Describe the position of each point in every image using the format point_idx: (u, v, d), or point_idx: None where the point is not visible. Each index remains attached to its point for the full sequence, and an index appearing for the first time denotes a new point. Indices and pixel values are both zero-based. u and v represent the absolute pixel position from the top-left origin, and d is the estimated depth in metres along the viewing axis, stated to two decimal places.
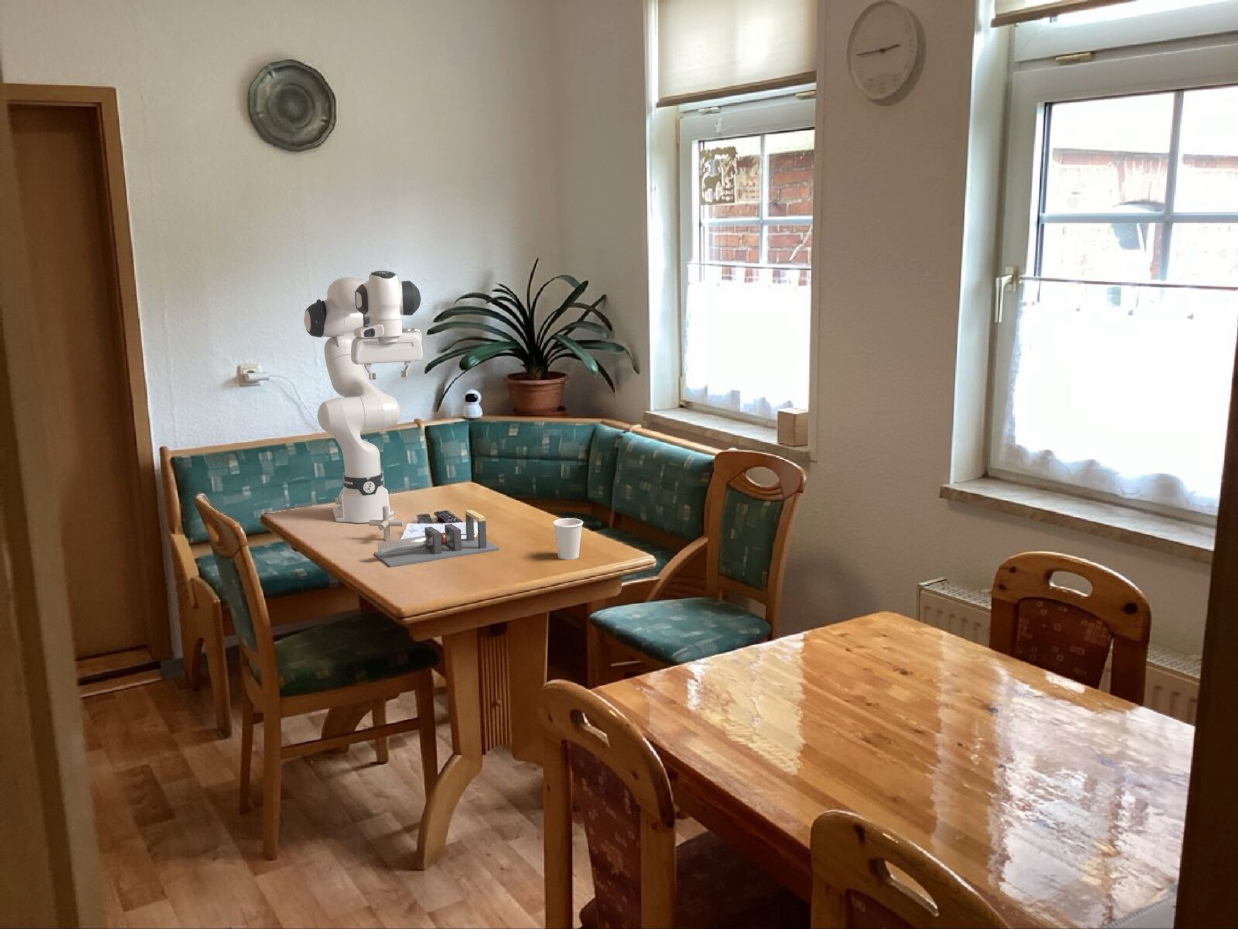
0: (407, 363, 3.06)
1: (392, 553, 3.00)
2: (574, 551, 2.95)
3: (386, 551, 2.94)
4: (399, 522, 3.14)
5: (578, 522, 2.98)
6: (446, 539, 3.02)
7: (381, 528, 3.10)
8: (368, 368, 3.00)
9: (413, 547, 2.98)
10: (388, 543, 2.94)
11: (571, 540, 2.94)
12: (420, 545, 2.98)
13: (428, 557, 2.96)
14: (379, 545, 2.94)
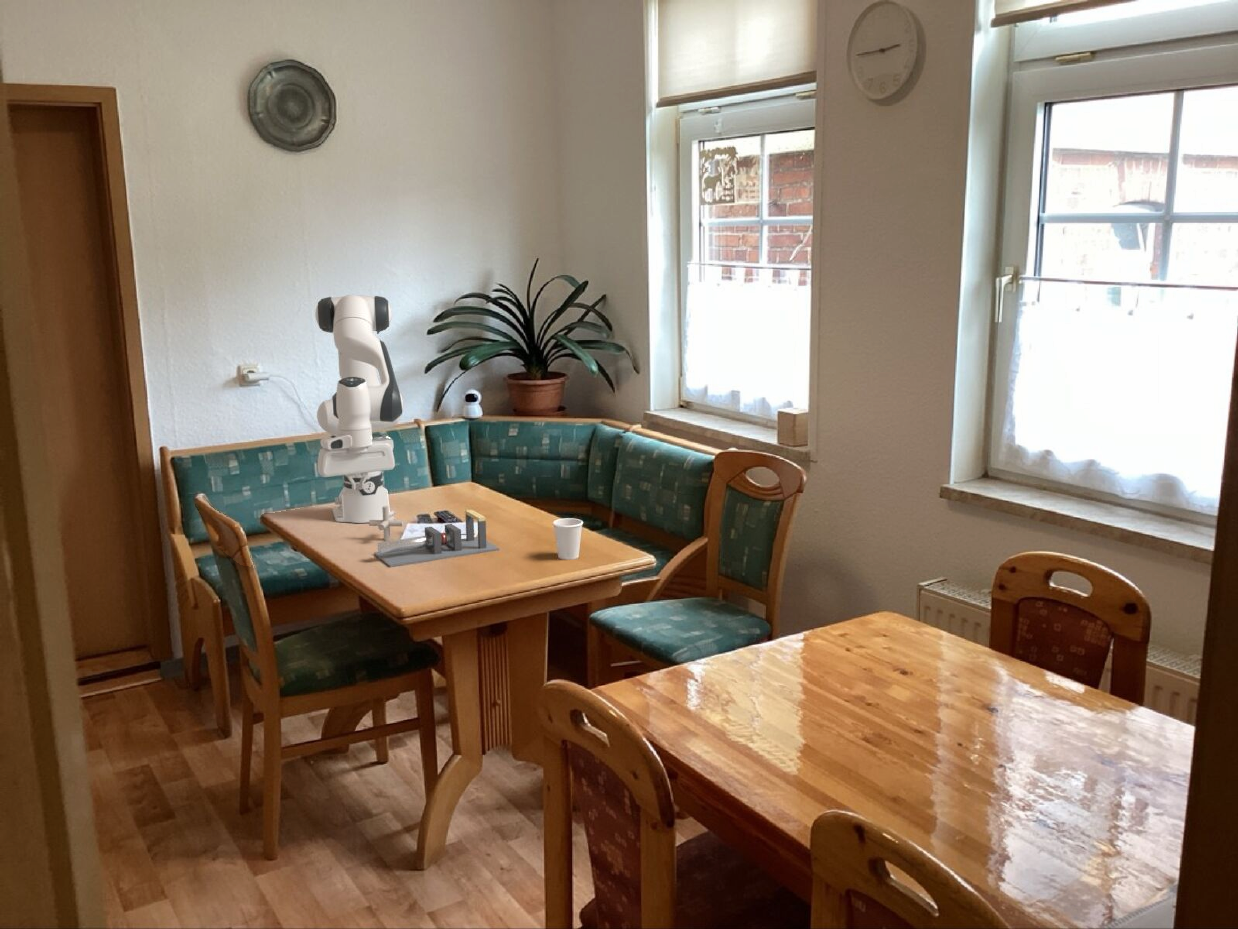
0: (363, 474, 2.87)
1: (392, 553, 3.00)
2: (574, 551, 2.95)
3: (386, 551, 2.94)
4: (399, 522, 3.14)
5: (578, 522, 2.98)
6: (446, 539, 3.02)
7: (381, 528, 3.10)
8: (351, 478, 2.85)
9: (413, 547, 2.98)
10: (388, 543, 2.94)
11: (571, 540, 2.94)
12: (420, 545, 2.98)
13: (428, 557, 2.96)
14: (379, 545, 2.94)
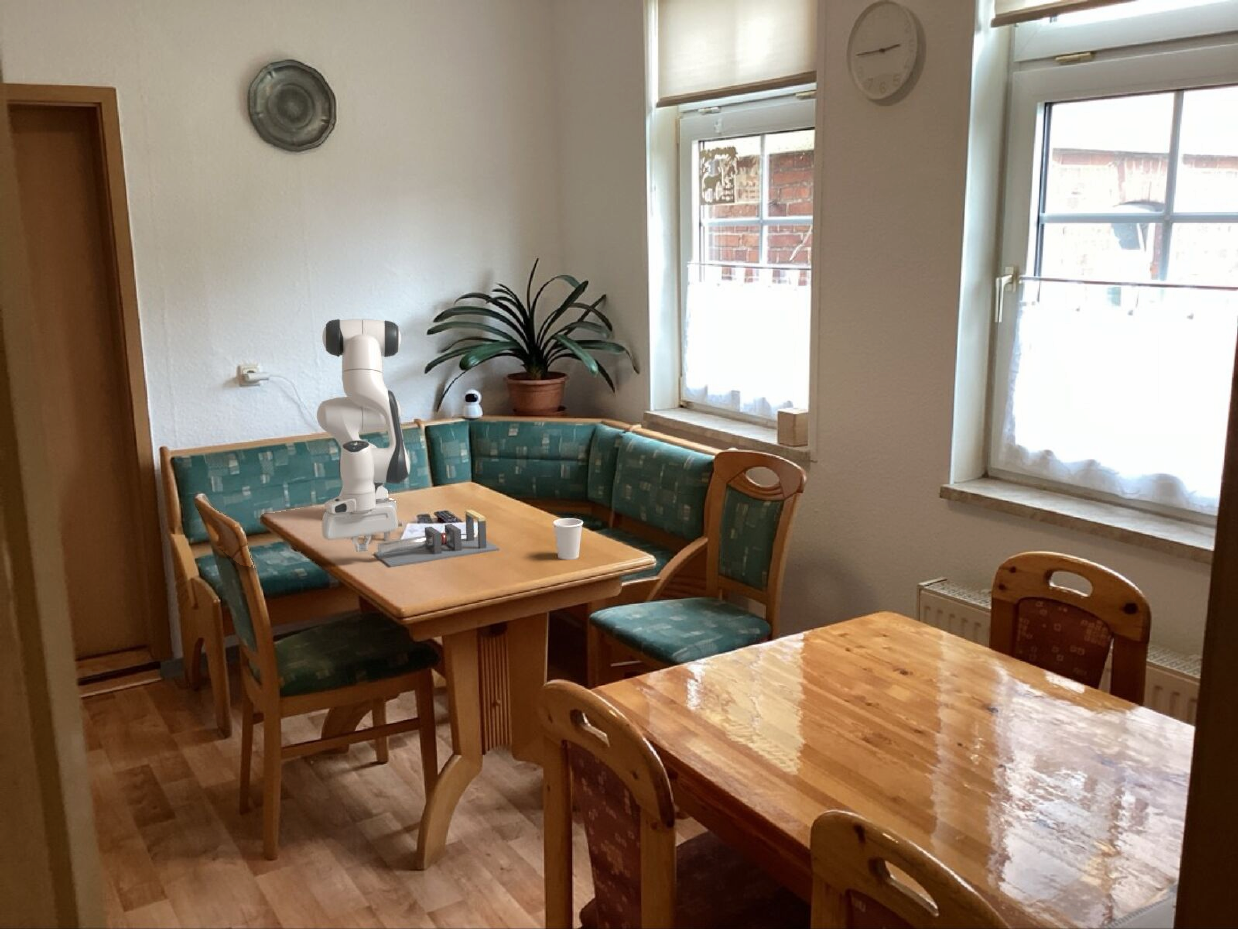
0: (367, 536, 2.91)
1: (392, 553, 3.00)
2: (574, 551, 2.95)
3: (386, 551, 2.94)
4: (399, 522, 3.14)
5: (578, 522, 2.98)
6: (446, 539, 3.02)
7: None
8: (355, 541, 2.89)
9: (413, 547, 2.98)
10: (388, 543, 2.94)
11: (571, 540, 2.94)
12: (420, 545, 2.98)
13: (428, 557, 2.96)
14: (379, 545, 2.94)
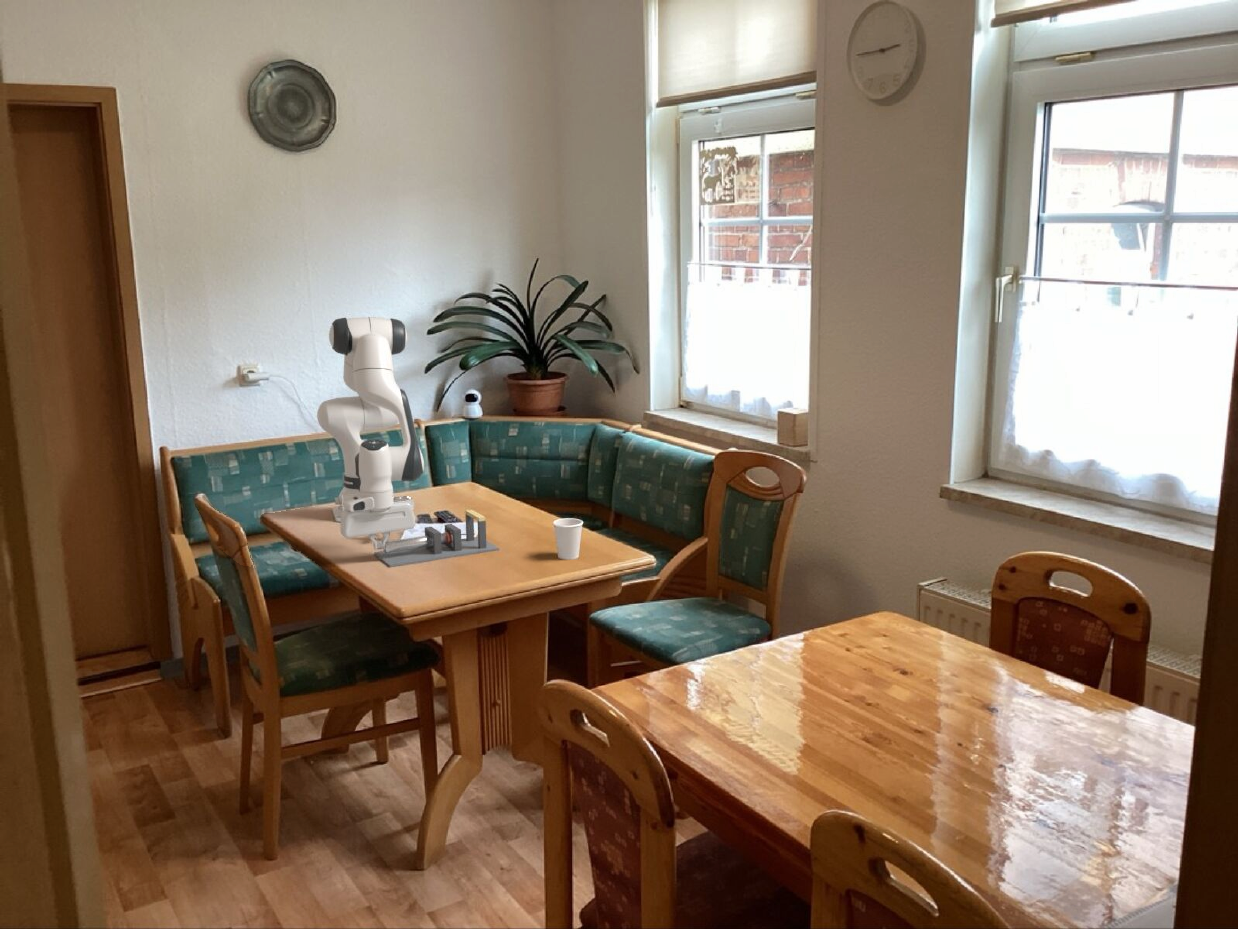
0: (384, 534, 2.93)
1: (392, 553, 3.00)
2: (574, 551, 2.95)
3: (391, 550, 2.94)
4: None
5: (578, 522, 2.98)
6: (451, 538, 3.03)
7: None
8: (373, 538, 2.92)
9: (418, 546, 2.98)
10: (393, 542, 2.95)
11: (571, 540, 2.94)
12: (426, 544, 2.99)
13: (428, 557, 2.96)
14: None
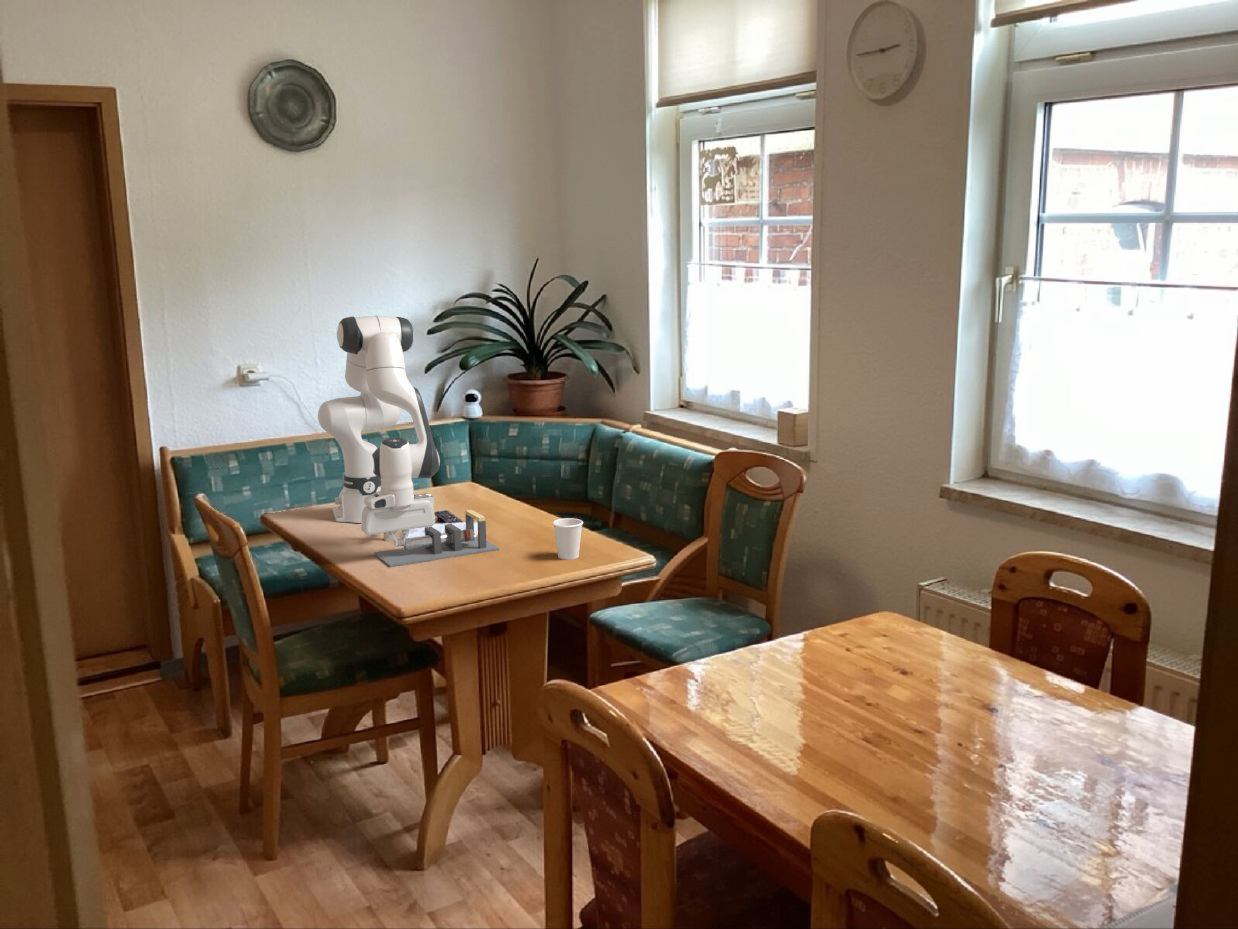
0: (405, 531, 2.96)
1: (392, 553, 3.00)
2: (574, 551, 2.95)
3: (411, 547, 2.97)
4: None
5: (578, 522, 2.98)
6: (470, 535, 3.05)
7: None
8: (393, 535, 2.94)
9: None
10: (413, 539, 2.98)
11: (571, 540, 2.94)
12: (445, 542, 3.02)
13: (428, 557, 2.96)
14: None
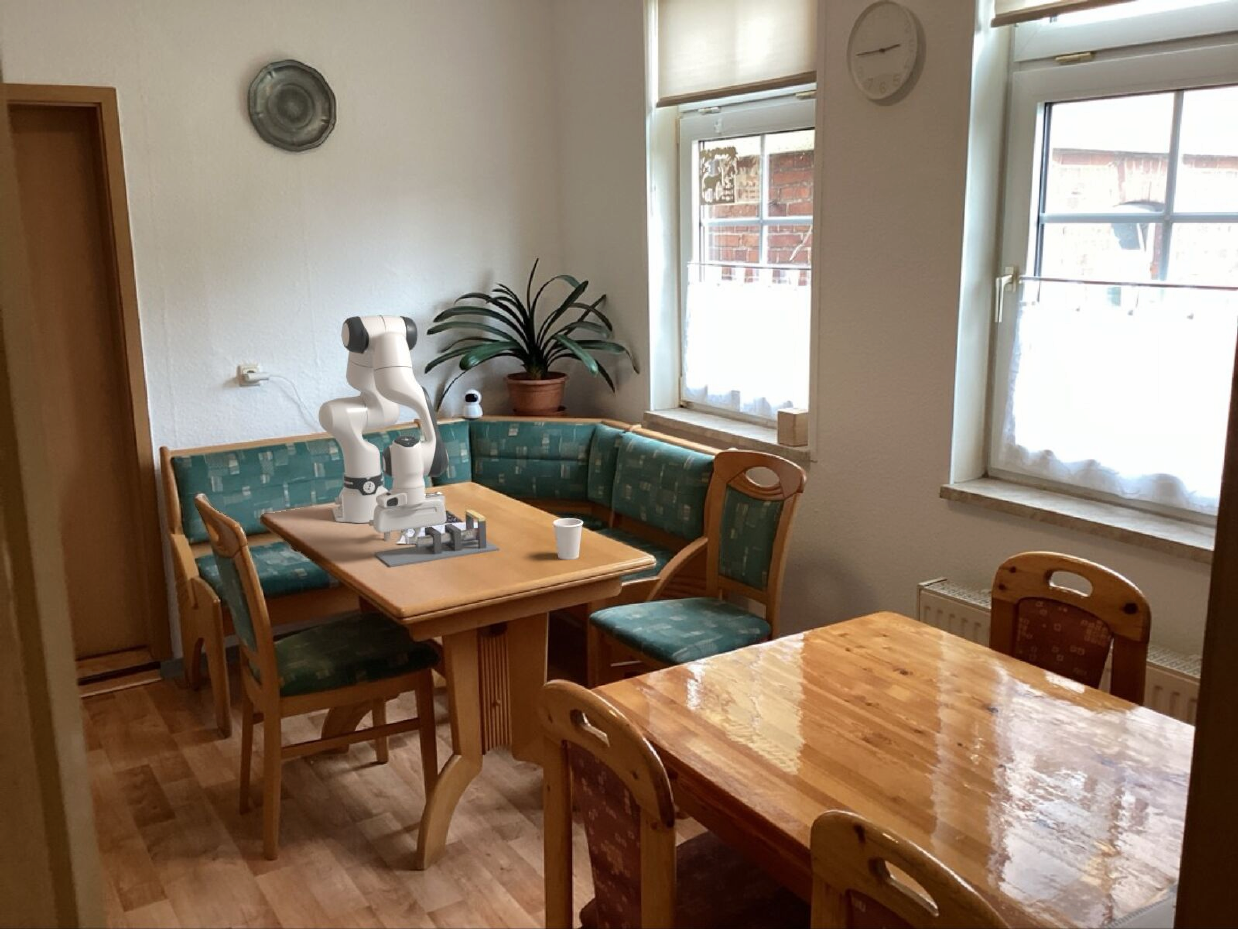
0: (416, 530, 2.98)
1: (392, 553, 3.00)
2: (574, 551, 2.95)
3: (423, 545, 2.99)
4: None
5: (578, 522, 2.98)
6: None
7: None
8: (405, 534, 2.96)
9: (449, 542, 3.03)
10: (425, 538, 2.99)
11: (571, 540, 2.94)
12: None
13: (428, 557, 2.96)
14: None
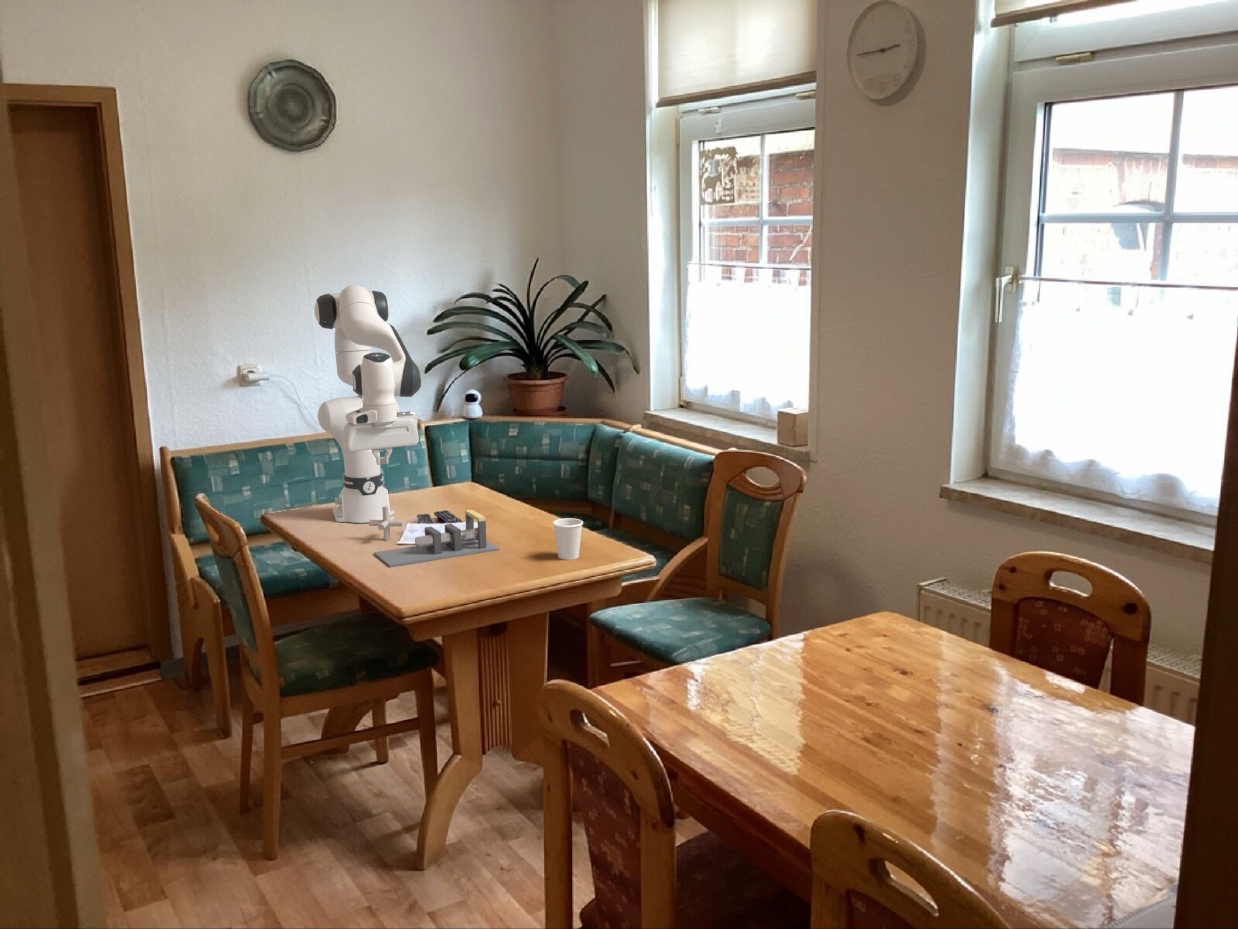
0: (388, 449, 2.90)
1: (392, 553, 3.00)
2: (574, 551, 2.95)
3: (423, 545, 2.99)
4: (399, 522, 3.14)
5: (578, 522, 2.98)
6: None
7: (381, 528, 3.10)
8: (375, 453, 2.88)
9: (449, 542, 3.03)
10: (425, 538, 2.99)
11: (571, 540, 2.94)
12: None
13: (428, 557, 2.96)
14: (416, 539, 2.99)
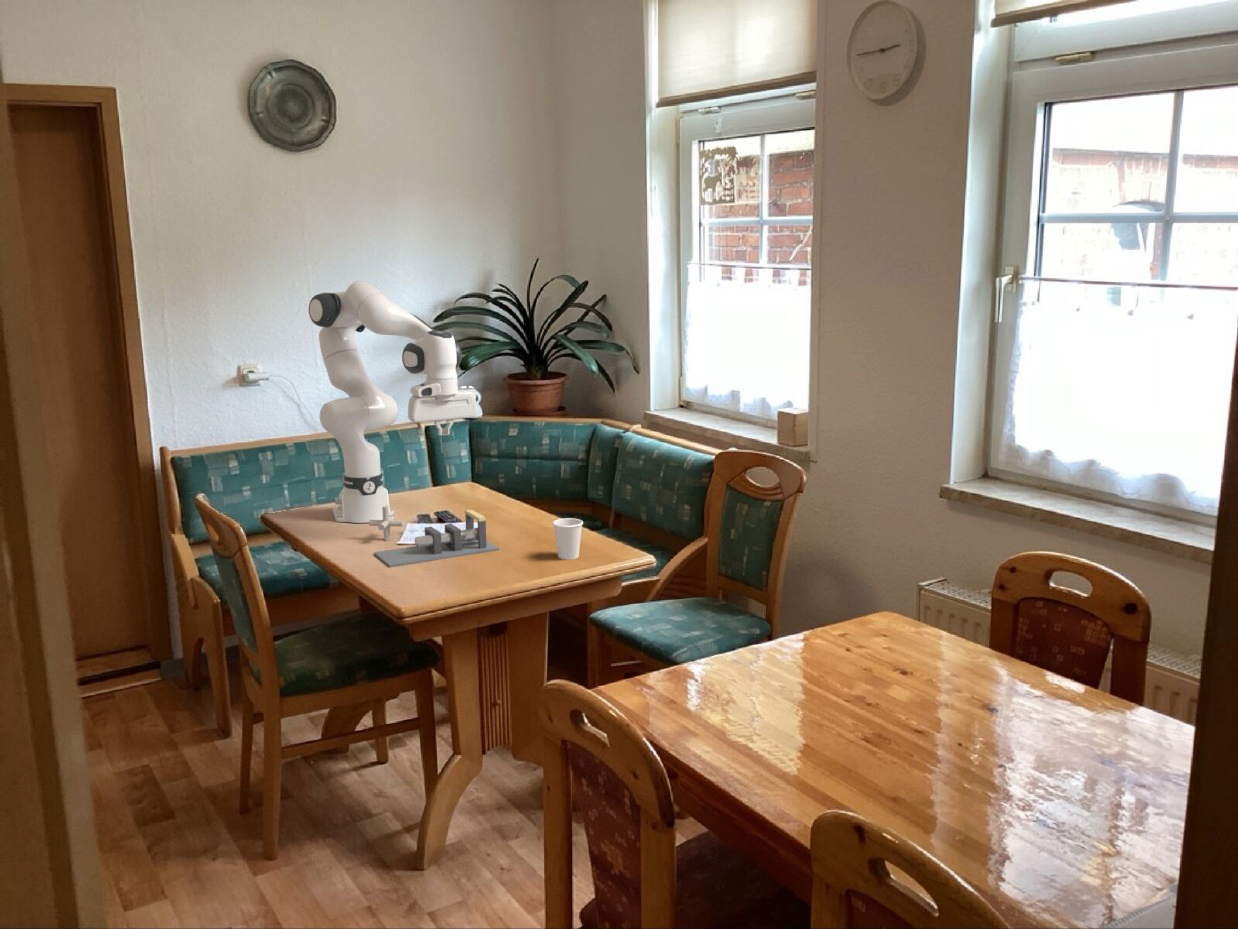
0: (449, 421, 3.09)
1: (392, 553, 3.00)
2: (574, 551, 2.95)
3: (423, 545, 2.99)
4: (399, 522, 3.14)
5: (578, 522, 2.98)
6: None
7: (381, 528, 3.10)
8: (438, 424, 3.08)
9: (449, 542, 3.03)
10: (425, 538, 2.99)
11: (571, 540, 2.94)
12: None
13: (428, 557, 2.96)
14: (416, 539, 2.99)
